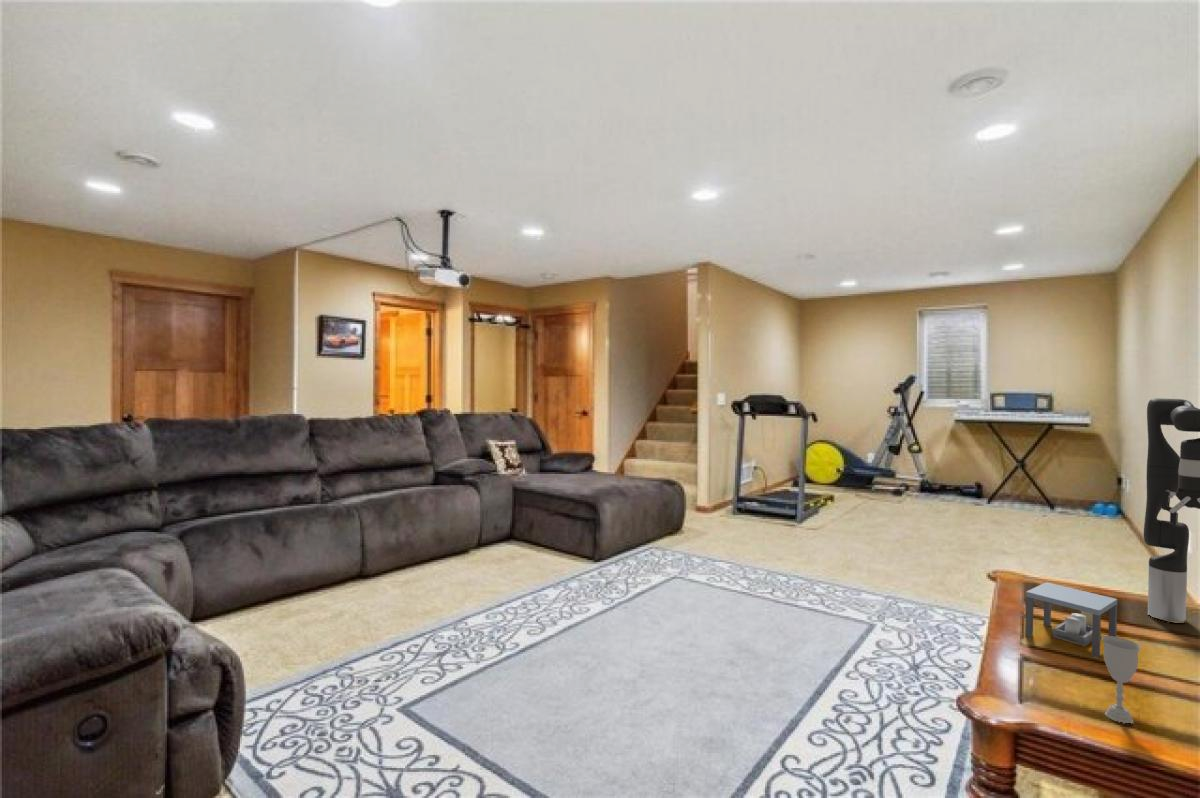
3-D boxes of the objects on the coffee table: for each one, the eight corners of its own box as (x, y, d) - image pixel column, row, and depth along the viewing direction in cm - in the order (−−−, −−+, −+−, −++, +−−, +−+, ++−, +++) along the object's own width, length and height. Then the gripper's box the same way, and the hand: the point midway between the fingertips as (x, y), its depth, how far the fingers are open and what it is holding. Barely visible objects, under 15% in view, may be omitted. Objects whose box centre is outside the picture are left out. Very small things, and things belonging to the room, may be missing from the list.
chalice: (1147, 728, 131) (1149, 651, 131) (1112, 724, 133) (1114, 648, 132) (1124, 710, 139) (1126, 637, 138) (1092, 707, 140) (1094, 634, 139)
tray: (1074, 623, 190) (1074, 602, 190) (1105, 631, 183) (1105, 610, 183) (1052, 636, 180) (1052, 614, 179) (1084, 646, 173) (1085, 623, 173)
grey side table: (1045, 623, 189) (1046, 582, 189) (1116, 644, 174) (1117, 599, 174) (1025, 635, 180) (1026, 591, 180) (1098, 658, 165) (1099, 610, 165)
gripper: (1233, 476, 168) (1232, 531, 169) (1167, 470, 180) (1165, 521, 181) (1228, 478, 164) (1226, 534, 165) (1160, 472, 176) (1159, 524, 176)
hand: (1194, 527), depth 173 cm, fingers open, 8 cm apart
